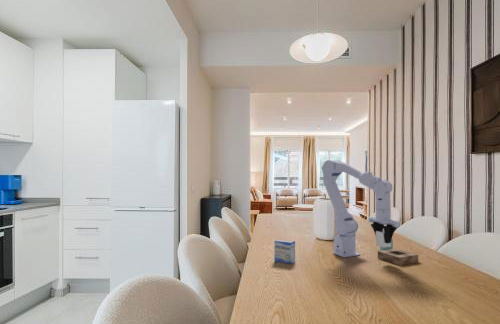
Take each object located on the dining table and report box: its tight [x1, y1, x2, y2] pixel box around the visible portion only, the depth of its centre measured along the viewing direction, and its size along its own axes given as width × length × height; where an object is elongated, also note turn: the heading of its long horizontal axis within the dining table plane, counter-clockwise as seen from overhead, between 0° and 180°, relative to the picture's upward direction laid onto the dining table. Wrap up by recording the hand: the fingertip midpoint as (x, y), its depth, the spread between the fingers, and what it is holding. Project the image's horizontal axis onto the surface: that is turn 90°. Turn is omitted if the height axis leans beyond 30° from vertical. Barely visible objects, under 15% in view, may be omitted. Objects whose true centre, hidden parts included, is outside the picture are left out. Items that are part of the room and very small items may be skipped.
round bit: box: [379, 238, 394, 251], centre depth 140 cm, size 6×6×6 cm
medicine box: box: [273, 239, 296, 265], centre depth 125 cm, size 8×4×9 cm, turn 62°
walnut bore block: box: [377, 248, 419, 266], centre depth 126 cm, size 11×11×3 cm
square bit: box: [375, 229, 391, 248], centre depth 123 cm, size 4×4×6 cm
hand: (383, 241), depth 123 cm, fingers closed on square bit, 4 cm apart
